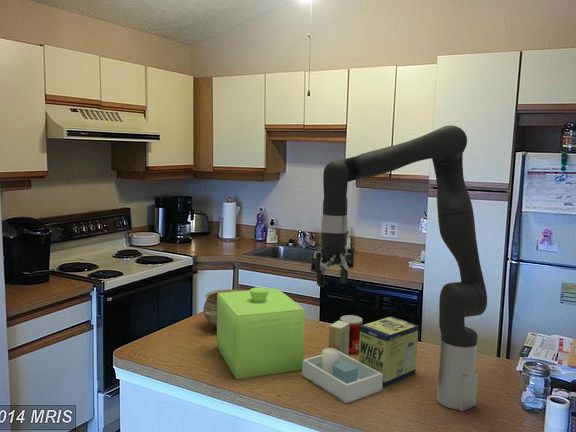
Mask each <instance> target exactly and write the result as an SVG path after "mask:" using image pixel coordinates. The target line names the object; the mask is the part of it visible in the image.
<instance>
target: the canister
mask: <svg viewBox="0 0 576 432" xmlns="http://www.w3.org/2000/svg"><path fill="white" fill-rule="evenodd" d="M305 319H306V310H305V309H304V308H303V307H302V306H301V305H300V304H298V303H297V302H295V301H294V300H293V299H292V298H291V297H289V296H288V295H287V294H286V293H284V292H283V291H282V290H280V289H279V288H276V287H275V288H274V287H273V288H266V287H258V286H256V287H252V288H250V289H249V290H242V291H234V292H222V293H218V294H217V326H216V348H218V349H219V350H218V349H217V350H218V352H219V351H220V352H219V353H221V354H222V355H221V354H220V355H221V357H222V356H223V357H222V359H223V358H224V359H223V360H224V362H225V361H226V362H225V364H226V363H227V364H226V365H227V367H228V366H229V367H228V369H229V368H230V369H229V370H230V372H231V373H232V375H233V377H234V379H235V380H242V379H249V378H256V377H262V376H264V377H265V376H270V375H276V374H283V373H284V374H285V373H290V372H296V371H302V363H303V360H304V359H305V358H304V353H305V351H304V350H305V324H306V323H305V321H306V320H305Z"/></svg>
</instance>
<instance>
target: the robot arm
mask: <svg viewBox="0 0 576 432" xmlns="http://www.w3.org/2000/svg"><path fill="white" fill-rule="evenodd" d="M467 137H468V136H467V134H466V132H465V131H464V130H463V129H462V128H461V127H460V126H456V125H451V124H450V125H445V126H442V127H439V128H437V129H435V130H433V131H431V132H428V133H426V134H424V135H421V136H419V137H416V138H413V139H409V140H407V141H405V142H401V143H398V144H394V145H389V146H387V147H383V148H378V149H375V150H371V151H367V152H363V153H360V154H358V155H356V156H351V157H347V158H342V159H337V160H332V161H330V162H329V163H327V164H326V165H325V167H324V169H323V174H322V180H323V184H322V185H323V186H322V187H323V201H322V202H323V203H322V216H321V217H322V218H321V222H320V223H321V228H320V229H321V230H320V246H321V251H315V250H314V251H312V253H311V267H310V272H312V273H316V285H317V286H318V287H320V288H324V287H325V281H326V279H325V277H326V275H325V273H326V271H327V270H328V269H330V266H335V265H338V266H339V268H340V270H339V271H340V273H339V282H340V283H341V284H346V283H347V282H348V277H349V276H348V275H349V271H350V269H353V268H354V266H355V262H354V261H355V260H354V258H355V257H354V256H355V255H354V248H351V247H348V246H347V245H348V226H349V224H348V223H349V222H348V197H347V195H348V184H349V183H348V182H352V181H357V180H359V179H368V178H371V177H377V176H381V175H385V174H387V173H390V172H394V171H396V170H398V169H401V168H403V167H406V166H409V165H412V164H414V163H417V162H420V161H425V160H430V159H431V160H432V164H433V165H432V166H433V170H434V173H435V174H434V175H435V179H436V206H437V208H436V209H437V220H438V222H437V223H438V229H439V235H440V237H441V238H442V241H443V243H444V245H445V246H446V247H447V249H448V250H449V252H450V254H452V256H453V257H454V259H455V261H456V263H457V266H458V269H459V275H460V281H457V282H456V281H455V282H448V283H446V284H444V285H443V286H442V288H441V291H440V292H439V303H438V304H439V306H438V308H439V309H438V311H439V314H438V325H439V330H440V345H439V346H440V348H439V361H438V363H439V364H438V375H437V378H438V379H437V389H436V390H437V393H436V394H437V395H436V400H437V402H438V403H439V404H441V405H442V406H444V407H446V408H449V409H452V410H456V411H457V410H458V411H460V412H465V411H467V410H469V409H472V408H474V407H476V406H477V397H478V396H477V395H478V384H479V383H478V382H479V381H478V380H479V371H476V361H477V351H478V350H477V349H478V339H479V338H478V334H477V332H476V331H475V330H474V329H472V328H470V327H468V326H466V325H465V318H469V317H476V316H481V315H482V314H484V313H485V312H486V310H487V305H488V294H487V288H486V284H485V279H484V275H483V270H482V265H481V261H480V256H479V249H478V241H477V233H476V224H475V222H476V221H475V213H474V208H473V204H472V200H471V197H470V194H469V192H468V188H467V185H466V183H465V177H464V165H463V164H464V163H463V161H464V159H463V157H464V155H463V154H464V152H465V149H466V148H467V144H468V138H467Z"/></svg>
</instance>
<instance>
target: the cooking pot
mask: <svg viewBox="0 0 576 432" xmlns="http://www.w3.org/2000/svg"><path fill="white" fill-rule="evenodd" d="M234 291H243V290H241V289H233V288H232V289H231V288H230V289H229V288H228V289H217V290H213V291H209V292H208V293H206V294H205V302H204V305H203V307H202V308H203V311H202V312H203V314H204V317H205V319H206V320H207V322H208V323H210V324H211V325H213V326H215V327H217V294H218V293H222V292H234Z"/></svg>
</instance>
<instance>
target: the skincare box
mask: <svg viewBox="0 0 576 432" xmlns="http://www.w3.org/2000/svg"><path fill="white" fill-rule="evenodd" d="M349 328H350V323H347V322H343V321H340V320H337V321H335V322H333V323H332V324H329V331H328V333H329V334H328V336H329V337H328V348H334V349H337V350H338V351H340V352H341V353H343V354H345V355H347V356H349V355H350V354H349ZM349 357H350V356H349Z"/></svg>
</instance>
